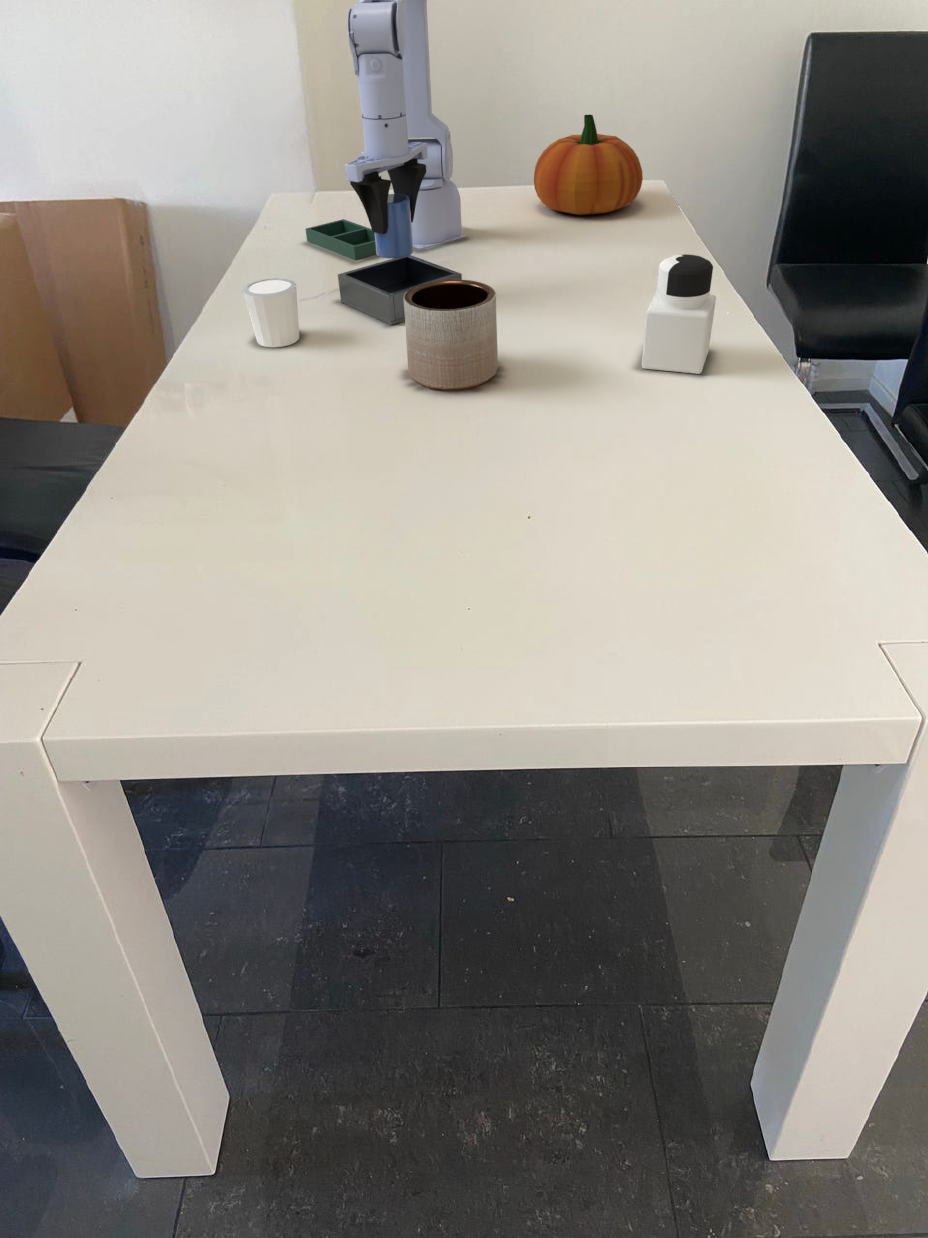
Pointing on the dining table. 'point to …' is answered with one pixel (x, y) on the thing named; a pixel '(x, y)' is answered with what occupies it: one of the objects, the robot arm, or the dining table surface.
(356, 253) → the divided tray
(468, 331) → the planter
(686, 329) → the medicine bottle
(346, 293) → the dark gray square tray
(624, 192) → the pumpkin
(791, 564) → the dining table surface
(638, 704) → the dining table surface
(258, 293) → the white jar candle
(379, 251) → the cup
